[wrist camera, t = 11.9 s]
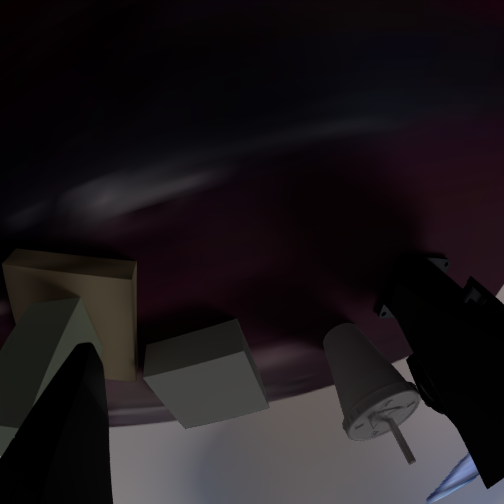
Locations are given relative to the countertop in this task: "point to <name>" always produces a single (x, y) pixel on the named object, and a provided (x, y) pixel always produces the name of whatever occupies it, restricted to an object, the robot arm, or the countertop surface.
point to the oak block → (83, 298)
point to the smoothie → (368, 387)
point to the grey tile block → (205, 375)
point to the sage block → (38, 357)
